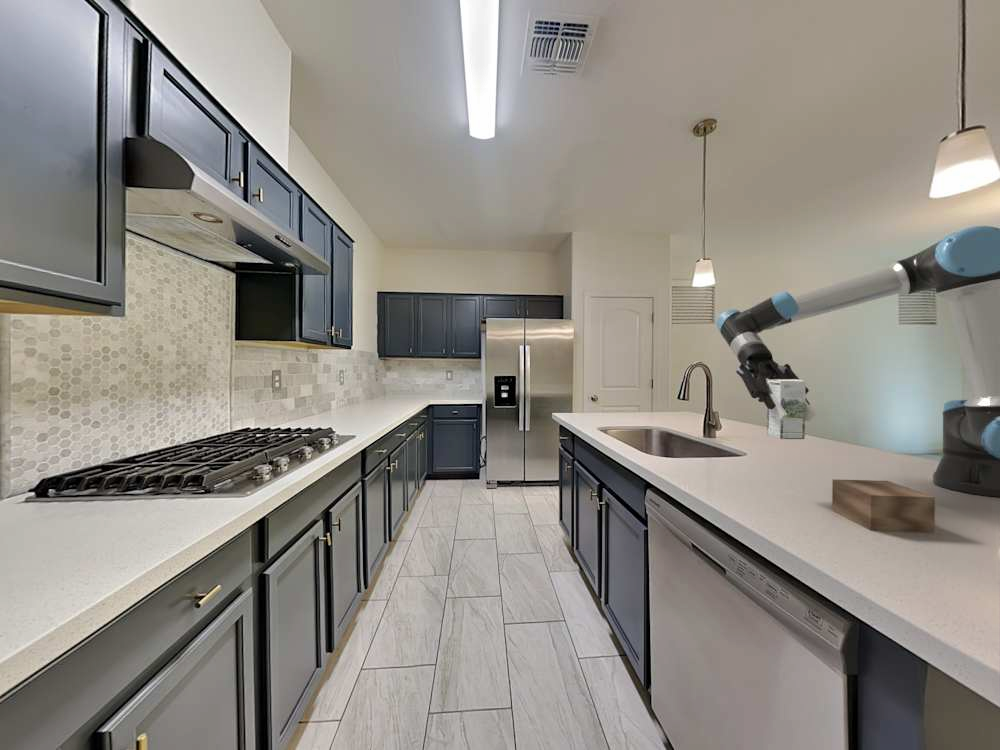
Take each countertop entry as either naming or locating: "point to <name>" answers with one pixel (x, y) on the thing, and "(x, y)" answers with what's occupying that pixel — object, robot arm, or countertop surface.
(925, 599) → the countertop surface
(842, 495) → the walnut block
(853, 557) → the countertop surface
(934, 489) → the countertop surface
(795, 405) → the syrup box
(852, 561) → the countertop surface
